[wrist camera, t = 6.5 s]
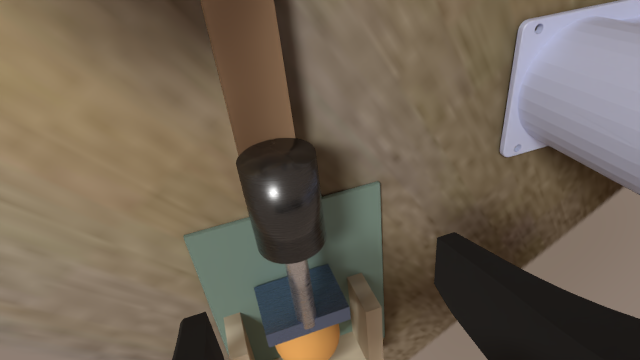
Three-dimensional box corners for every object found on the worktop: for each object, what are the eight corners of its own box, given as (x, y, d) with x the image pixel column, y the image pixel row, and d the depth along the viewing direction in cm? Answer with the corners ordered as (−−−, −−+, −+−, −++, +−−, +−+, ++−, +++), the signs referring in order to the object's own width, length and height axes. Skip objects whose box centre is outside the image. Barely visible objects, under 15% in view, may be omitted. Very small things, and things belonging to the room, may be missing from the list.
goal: (361, 272, 26) (381, 306, 24) (365, 335, 30) (383, 371, 27) (223, 317, 24) (229, 360, 22) (245, 379, 28) (253, 421, 25)
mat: (378, 181, 23) (379, 183, 23) (383, 334, 31) (384, 337, 31) (183, 235, 21) (183, 238, 21) (241, 386, 28) (241, 389, 28)
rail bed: (256, -60, 15) (264, -60, 14) (294, 172, 21) (303, 187, 20) (187, -51, 15) (189, -50, 14) (245, 185, 21) (251, 201, 19)
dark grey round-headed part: (211, 139, 18) (223, 191, 14) (308, 116, 19) (343, 160, 15) (256, 299, 24) (274, 366, 20) (329, 275, 25) (358, 335, 21)
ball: (346, 324, 22) (352, 368, 24) (323, 275, 25) (330, 318, 27) (275, 349, 21) (287, 393, 23) (261, 295, 24) (273, 338, 27)
